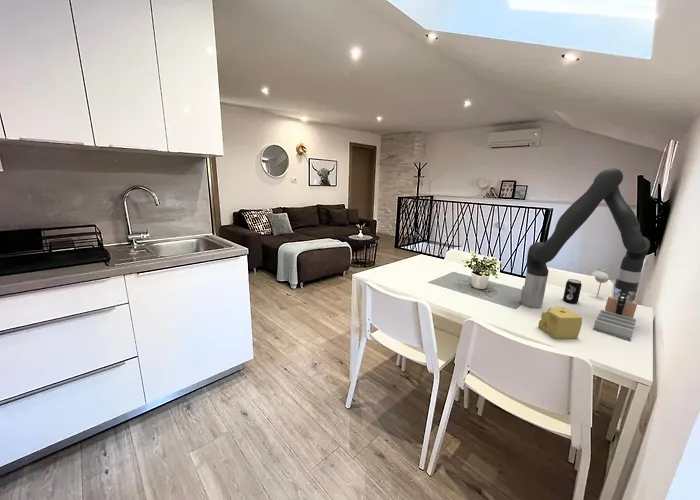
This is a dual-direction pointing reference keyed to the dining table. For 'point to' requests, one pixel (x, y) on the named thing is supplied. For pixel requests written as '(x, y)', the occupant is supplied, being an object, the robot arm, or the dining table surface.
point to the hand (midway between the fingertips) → (618, 313)
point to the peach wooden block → (628, 308)
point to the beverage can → (572, 291)
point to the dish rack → (615, 325)
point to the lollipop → (601, 279)
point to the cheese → (560, 323)
